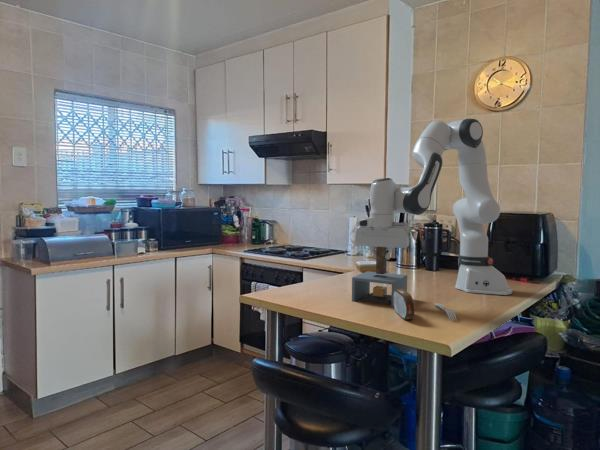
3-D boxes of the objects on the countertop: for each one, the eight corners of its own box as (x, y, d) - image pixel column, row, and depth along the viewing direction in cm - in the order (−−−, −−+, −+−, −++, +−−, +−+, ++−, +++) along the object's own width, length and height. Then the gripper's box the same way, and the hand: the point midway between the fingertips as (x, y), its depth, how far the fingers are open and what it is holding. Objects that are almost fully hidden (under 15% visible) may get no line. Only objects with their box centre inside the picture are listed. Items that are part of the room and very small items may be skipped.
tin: (414, 322, 139) (415, 296, 138) (405, 323, 139) (405, 296, 138) (400, 310, 154) (401, 286, 153) (391, 310, 154) (391, 286, 153)
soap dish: (377, 270, 238) (378, 260, 238) (383, 273, 228) (383, 263, 228) (354, 270, 237) (355, 261, 236) (359, 273, 227) (359, 263, 226)
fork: (440, 310, 161) (440, 303, 161) (458, 321, 140) (458, 312, 140) (432, 310, 161) (432, 302, 161) (449, 321, 140) (449, 312, 140)
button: (386, 294, 169) (386, 287, 169) (383, 296, 166) (383, 288, 166) (376, 293, 171) (376, 285, 171) (372, 295, 168) (373, 287, 168)
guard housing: (406, 298, 172) (407, 275, 171) (394, 307, 158) (394, 281, 157) (367, 293, 180) (367, 271, 179) (351, 301, 166) (352, 277, 165)
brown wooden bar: (386, 273, 169) (386, 235, 168) (383, 274, 166) (384, 236, 165) (378, 272, 170) (379, 235, 169) (375, 273, 168) (376, 236, 167)
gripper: (411, 222, 165) (411, 259, 165) (359, 220, 174) (359, 256, 175) (407, 223, 159) (406, 261, 160) (353, 221, 169) (353, 258, 170)
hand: (381, 258), depth 168 cm, fingers closed on brown wooden bar, 3 cm apart
